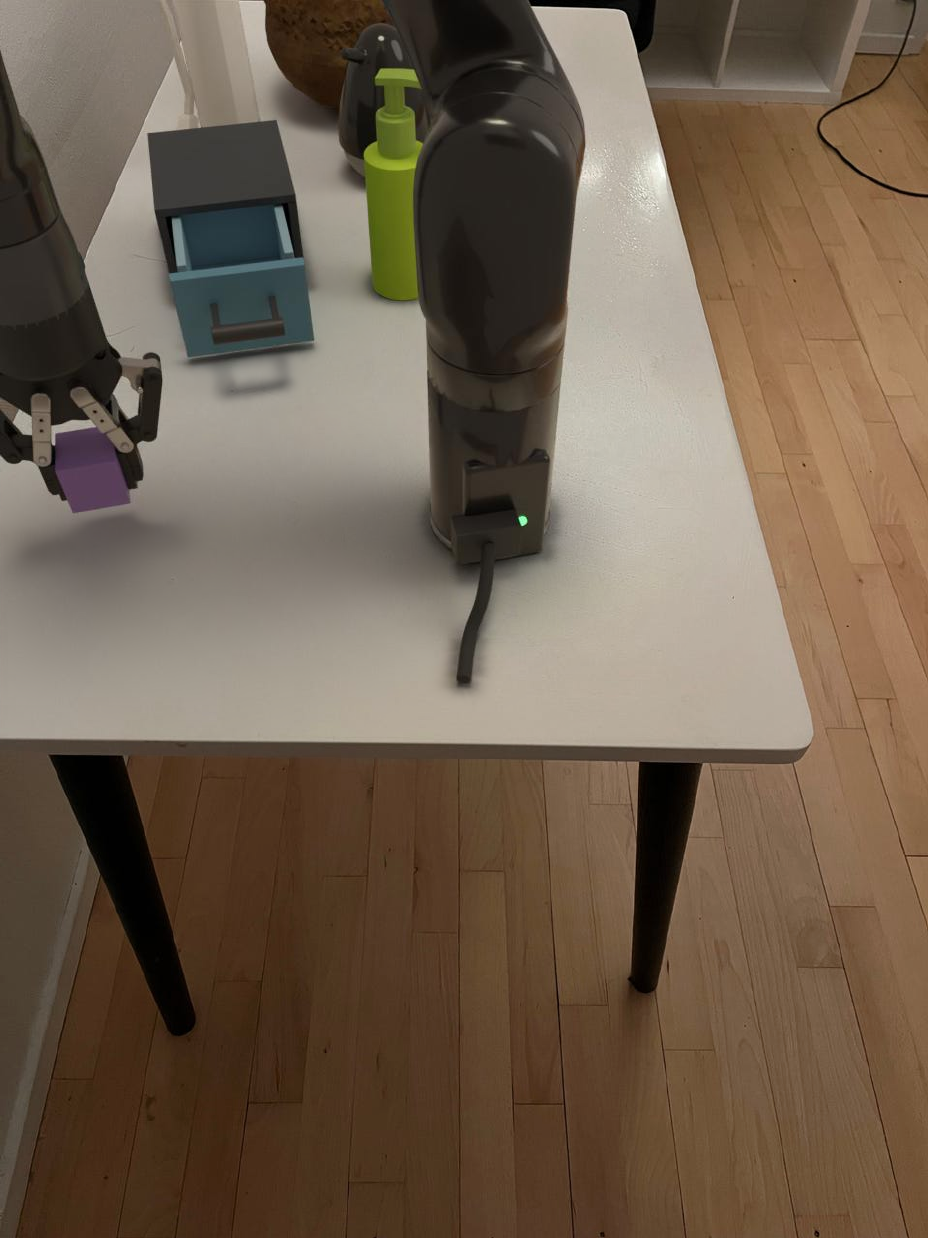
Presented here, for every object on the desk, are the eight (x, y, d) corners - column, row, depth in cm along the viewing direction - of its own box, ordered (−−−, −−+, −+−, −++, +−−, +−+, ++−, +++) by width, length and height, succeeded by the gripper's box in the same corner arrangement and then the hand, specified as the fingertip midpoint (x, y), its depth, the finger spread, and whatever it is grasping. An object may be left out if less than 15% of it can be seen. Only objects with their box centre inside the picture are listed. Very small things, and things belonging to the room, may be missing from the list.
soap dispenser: (435, 305, 101) (432, 92, 86) (366, 296, 102) (349, 84, 87) (448, 271, 105) (447, 61, 90) (381, 263, 106) (368, 54, 90)
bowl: (382, 53, 137) (375, -79, 125) (458, 111, 127) (458, -27, 115) (248, 87, 130) (228, -49, 119) (317, 151, 120) (302, 9, 109)
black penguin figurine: (321, 172, 117) (306, 25, 105) (388, 139, 122) (381, -5, 110) (385, 205, 113) (377, 56, 101) (452, 169, 118) (452, 23, 106)
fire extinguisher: (171, 148, 120) (116, -108, 101) (277, 137, 122) (243, -117, 103) (174, 177, 116) (118, -84, 97) (284, 165, 118) (250, -93, 99)
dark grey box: (307, 286, 103) (295, 193, 96) (176, 303, 101) (154, 209, 94) (288, 209, 112) (276, 119, 105) (167, 223, 110) (147, 132, 103)
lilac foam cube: (130, 503, 78) (115, 460, 75) (72, 513, 78) (55, 471, 74) (128, 466, 81) (113, 423, 78) (72, 475, 80) (54, 433, 77)
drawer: (322, 373, 93) (313, 297, 87) (191, 392, 91) (172, 315, 85) (295, 260, 105) (285, 185, 99) (178, 274, 103) (161, 199, 97)
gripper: (-101, 338, 62) (0, 539, 76) (143, 302, 65) (200, 504, 78) (-91, 269, 67) (3, 470, 80) (137, 238, 69) (192, 439, 82)
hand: (100, 486), depth 79 cm, fingers closed on lilac foam cube, 4 cm apart
